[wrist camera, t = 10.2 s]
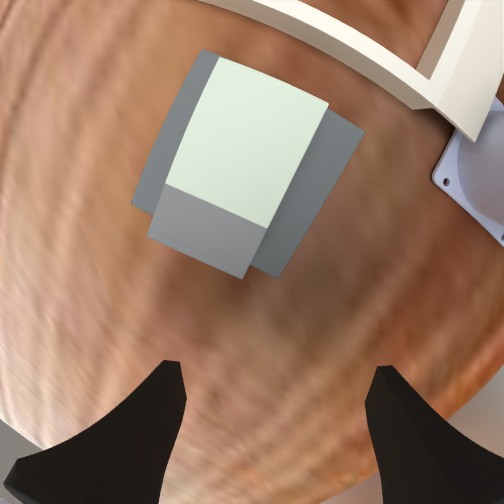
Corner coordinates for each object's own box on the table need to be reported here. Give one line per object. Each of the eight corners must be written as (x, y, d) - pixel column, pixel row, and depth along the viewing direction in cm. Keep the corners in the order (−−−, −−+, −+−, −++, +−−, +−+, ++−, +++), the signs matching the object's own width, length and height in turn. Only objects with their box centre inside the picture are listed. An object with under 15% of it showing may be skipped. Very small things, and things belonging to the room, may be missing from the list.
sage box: (312, 112, 15) (329, 103, 10) (250, 240, 18) (242, 279, 13) (235, 78, 15) (219, 56, 10) (179, 208, 17) (146, 236, 13)
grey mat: (362, 131, 16) (365, 131, 15) (277, 275, 19) (277, 278, 19) (203, 51, 14) (202, 48, 14) (133, 201, 18) (130, 203, 18)
